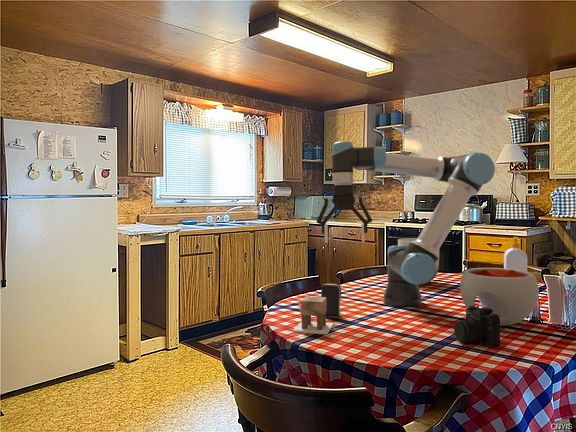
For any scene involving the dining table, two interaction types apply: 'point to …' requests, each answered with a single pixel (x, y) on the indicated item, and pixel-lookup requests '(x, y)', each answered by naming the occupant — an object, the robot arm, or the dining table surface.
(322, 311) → the stool
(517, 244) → the soap bottle
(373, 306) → the dining table surface
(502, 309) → the pot
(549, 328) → the dining table surface
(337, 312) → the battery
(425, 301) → the dining table surface
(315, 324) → the mat
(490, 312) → the camera
